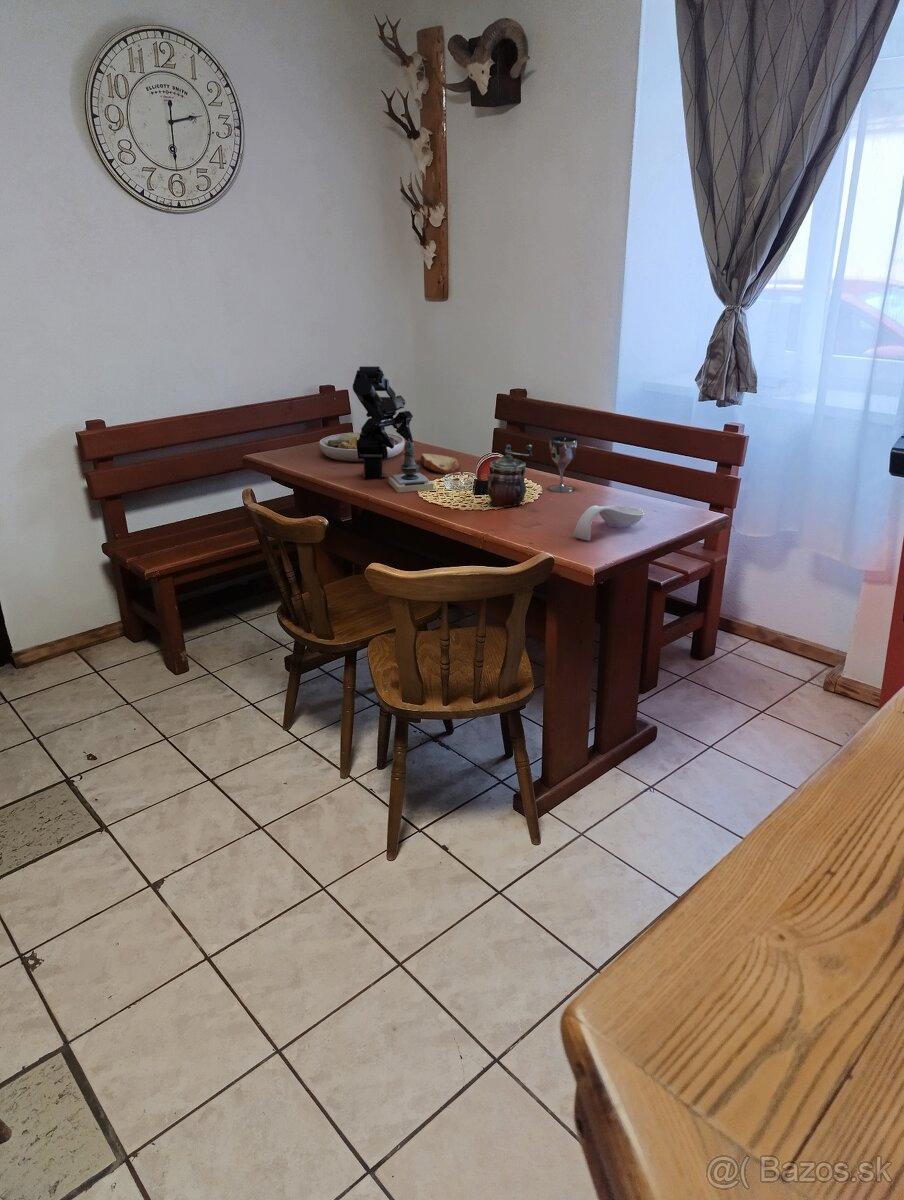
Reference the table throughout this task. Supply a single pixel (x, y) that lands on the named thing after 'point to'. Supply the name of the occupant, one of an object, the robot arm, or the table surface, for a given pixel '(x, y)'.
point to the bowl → (354, 446)
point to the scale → (410, 483)
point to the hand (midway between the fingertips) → (402, 445)
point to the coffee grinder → (507, 479)
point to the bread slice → (439, 463)
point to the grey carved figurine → (409, 463)
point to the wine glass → (562, 457)
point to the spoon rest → (607, 518)
